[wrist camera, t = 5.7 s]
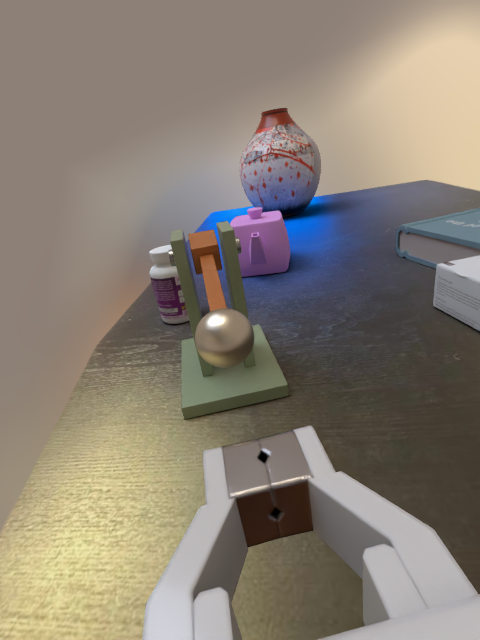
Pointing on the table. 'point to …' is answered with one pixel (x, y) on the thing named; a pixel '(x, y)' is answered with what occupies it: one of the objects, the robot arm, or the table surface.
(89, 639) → the table surface
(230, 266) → the bracket
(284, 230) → the teapot
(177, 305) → the pill bottle
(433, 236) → the book
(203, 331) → the lever
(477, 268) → the small box
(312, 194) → the vase
